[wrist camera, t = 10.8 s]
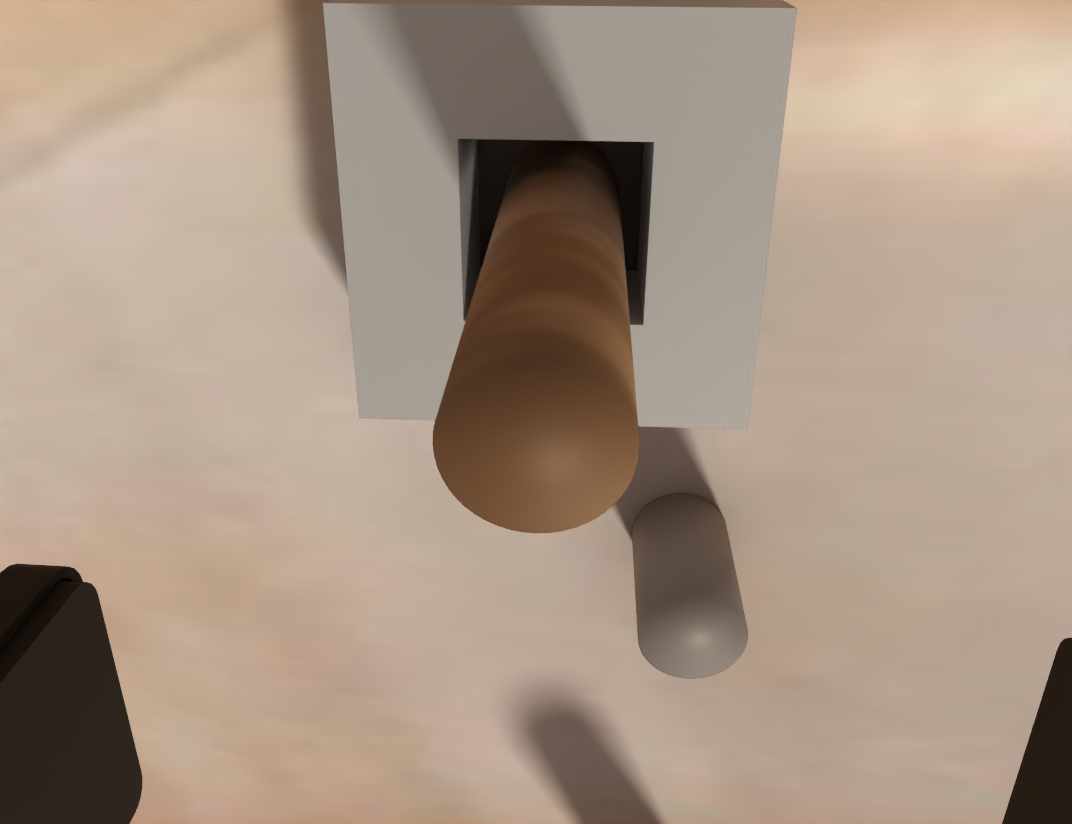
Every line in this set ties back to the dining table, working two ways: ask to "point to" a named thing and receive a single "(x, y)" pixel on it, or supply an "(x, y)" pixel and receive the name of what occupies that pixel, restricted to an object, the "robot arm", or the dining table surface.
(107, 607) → the dining table surface
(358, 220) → the hole block
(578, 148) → the long pin
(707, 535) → the short pin
